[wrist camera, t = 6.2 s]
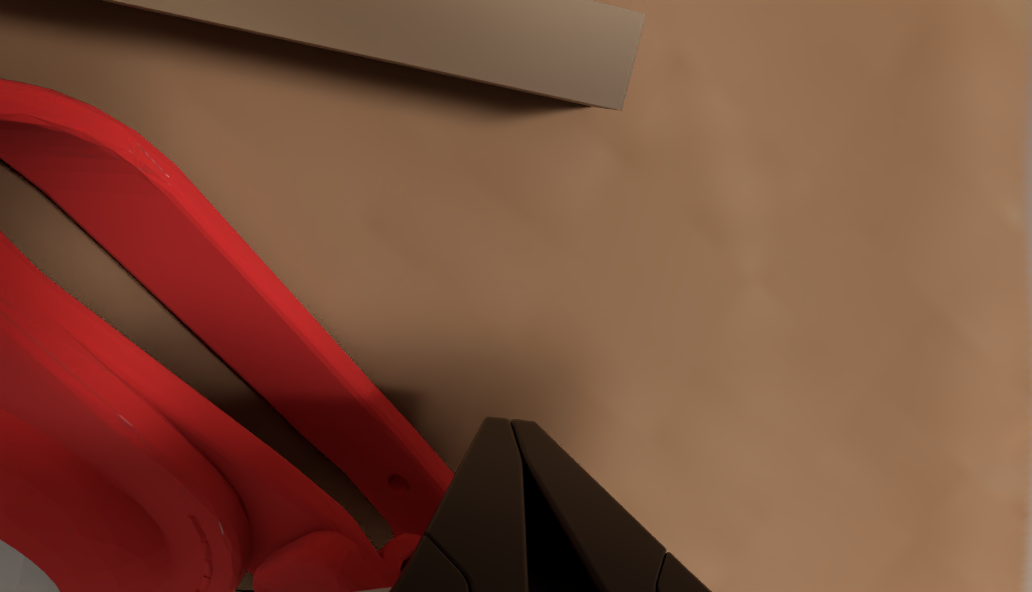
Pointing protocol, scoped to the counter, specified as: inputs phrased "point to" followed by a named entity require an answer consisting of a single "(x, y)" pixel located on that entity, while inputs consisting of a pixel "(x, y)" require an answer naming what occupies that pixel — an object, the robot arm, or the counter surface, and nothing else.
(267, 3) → the guide channel
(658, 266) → the counter surface
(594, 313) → the counter surface
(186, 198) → the tracker holder
